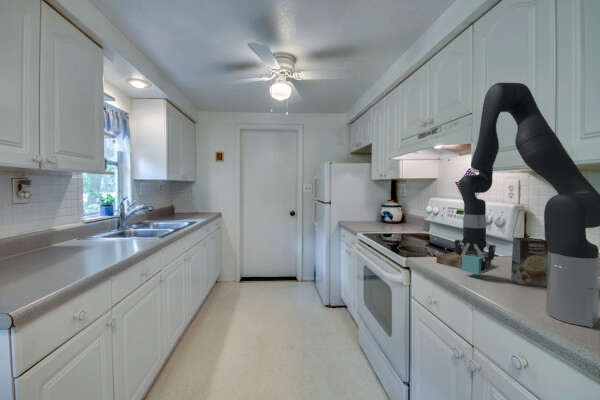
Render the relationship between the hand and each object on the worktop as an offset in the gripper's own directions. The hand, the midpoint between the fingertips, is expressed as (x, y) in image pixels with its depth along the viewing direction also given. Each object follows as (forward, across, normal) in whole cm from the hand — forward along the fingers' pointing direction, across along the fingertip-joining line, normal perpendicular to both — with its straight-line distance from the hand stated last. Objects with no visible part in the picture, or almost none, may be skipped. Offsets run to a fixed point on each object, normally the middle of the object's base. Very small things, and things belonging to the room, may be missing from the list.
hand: (473, 268), depth 103 cm
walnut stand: (+3, -10, +14) cm, 18 cm away
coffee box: (+4, +15, +9) cm, 18 cm away
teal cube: (+1, 0, 0) cm, 1 cm away
